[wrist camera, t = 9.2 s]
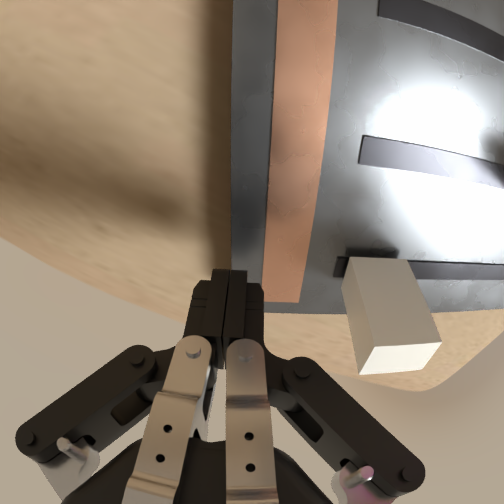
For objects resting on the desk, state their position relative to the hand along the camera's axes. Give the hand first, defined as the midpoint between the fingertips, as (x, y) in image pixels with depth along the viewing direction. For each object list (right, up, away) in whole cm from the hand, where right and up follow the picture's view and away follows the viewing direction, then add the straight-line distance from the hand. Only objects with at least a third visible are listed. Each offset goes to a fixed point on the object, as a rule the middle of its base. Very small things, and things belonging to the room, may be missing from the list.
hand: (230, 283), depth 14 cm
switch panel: (+12, +6, -1) cm, 13 cm away
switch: (+7, 0, +1) cm, 7 cm away
